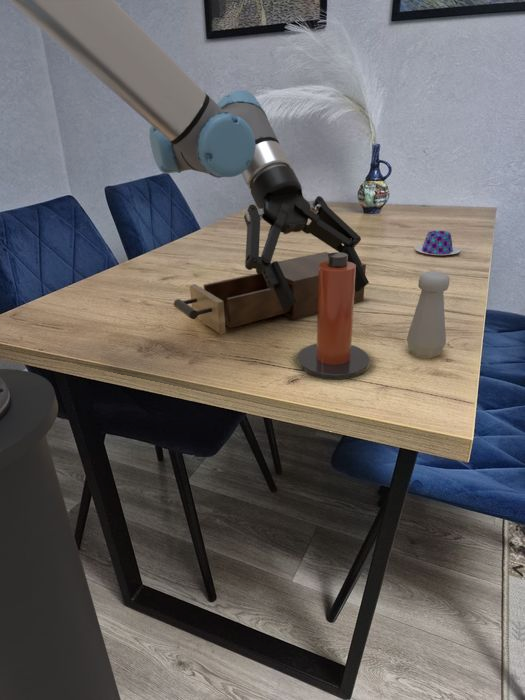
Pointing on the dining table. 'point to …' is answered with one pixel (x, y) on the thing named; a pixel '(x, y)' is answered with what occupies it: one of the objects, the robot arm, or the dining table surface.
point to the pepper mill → (335, 309)
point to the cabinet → (307, 283)
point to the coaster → (348, 370)
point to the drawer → (232, 302)
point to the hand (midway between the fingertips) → (327, 296)
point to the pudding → (437, 244)
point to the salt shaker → (429, 316)
